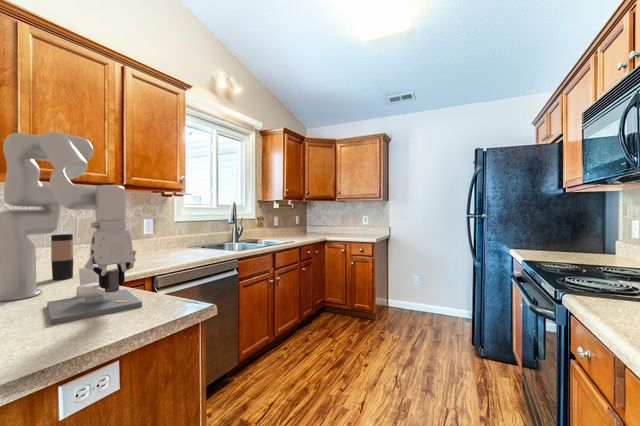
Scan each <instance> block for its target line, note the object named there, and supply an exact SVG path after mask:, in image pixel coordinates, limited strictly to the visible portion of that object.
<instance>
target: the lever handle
mask: <svg viewBox="0 0 640 426" xmlns="http://www.w3.org/2000/svg"><path fill="white" fill-rule="evenodd" d="M106 275H108V288H107V289H103V288H101V287H100V286H99V282H98V283H90V284H85V285H81V286H80V285H78V286H77V287H76V288H75V289H76V297H94V296H100V295H104V296H107V297H112V296H117V295H118V291H119V290H120V285H119V270H118V269H110V270H108V269H107V270H106Z"/></svg>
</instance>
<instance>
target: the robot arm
mask: <svg viewBox="0 0 640 426" xmlns="http://www.w3.org/2000/svg"><path fill="white" fill-rule="evenodd" d="M93 147H94V146H93V145H92V143H91V141H89V140H88V139H86V138H85V137H83V136H79V135H78V136H77V135H72V134H67V133H63V132H56V131H48V132H45V133H43V134H41V135H39V134H38V135H37V134H32V133H31V134H30V133H24V132H13V133H11V134H9V135H7V136H6V138H4V141H3V147H2V148H3V154H4V159H5V161H6V172H5V180H4V186H3V187H4V190H3V198H4V202H5V203H6V204H7V205H9V206H12V207H13V206H14V207H23V208H24V207H30V208H31V207H33V208H34V207H36V208H37V207H39V209H27V208H26V209H25V208H24V209H22V208H21V209H19V208H17V209H16V208H15V209H5V210H2V211H0V302H6V301H10V302H11V301H16V300H18V301H19V300H23V299H28V298H29V299H30V298H32V297H36V296H38V295H41V294H42V292H43V289H41V288H37V262H36V261H37V260H36V259H37V258H36V257H37V255H36V250H37V249H36V246H35V243H34V242H33V241H32V240H31V239H30V238H29V237H28V236H33V235H45V234H52V233H54V232H56V231H57V229H58V227H59V223H60V218H61V211H62V210H61V209H62V207H63V208H65V209H68V210H75V211H76V210H94V211H95V221H94V222H91V223H90V224H89V225H90V228H92V229H93V228H94V231H93V233H92V237H91V242H90V251H89V252H90V253H89V259H88V260H87V261H86V263H85V264H84V266H85V268H87V269H90V270H92V271H94V272H95V273H97V275H99V286H100V287H101V288H103V289H107V288H108V275H106V271H108V266H111V265H116V268H117V269H116V270H119V286H120V287H121V286H124V282H125V274H126V272H127V270H128V269H129V268H128V267H129V266H130V265H131V264H132V263H134V264H135V262H136V261H137V259H136V256H135V257H134V256H133V251H134V248H133V242H132V240H133V239H132V236H131V232H130V229H127V220H126V219H127V210H126V209H127V207H126V206H127V203H126V201H127V197H126V196H127V195H126V189H125V187H124V186H122V185H114V184H101V185H92V184H81V183H80V184H79V183H73V182H72V181H71V180H72V179H73V180H74V179H76V178H79V177H81V176H83V175H84V174H85V173H86V172H87V171H88V166H89V165H88V161H89V160H91V158H93V155H94V148H93ZM36 161H41V162H42V161H44V162H49V163H50V165H51V166H52V167H53V169H54V170H53V171H52V172H51V174H50V178H49V181H41V180H40V175H41V168H40V166H39V165H38V163H37V162H36ZM93 265H98V267H95V266H93Z"/></svg>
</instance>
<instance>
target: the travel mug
mask: <svg viewBox="0 0 640 426" xmlns="http://www.w3.org/2000/svg"><path fill="white" fill-rule="evenodd" d="M50 237H51V239H50V240H51V244H50V245H51V246H50V247H51V251H50V256H51V258H50V259H51V260H50V261H51V262H50V263H51V275H52V277H51V278H52V281H64V280H69V279H70V280H71V279H72V278H74V238H73V234H71V233H70V234H69V233H68V234H67V233H66V234H63V233H62V234H52V235H51V236H50Z"/></svg>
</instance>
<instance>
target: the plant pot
mask: <svg viewBox="0 0 640 426" xmlns="http://www.w3.org/2000/svg"><path fill="white" fill-rule="evenodd" d="M136 254H137V250H133V256H134V257H135V258H136ZM134 266H135V262H134V263H132V264H131V265H130V266H129V267H128V268H127V269H133V268H134Z"/></svg>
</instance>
